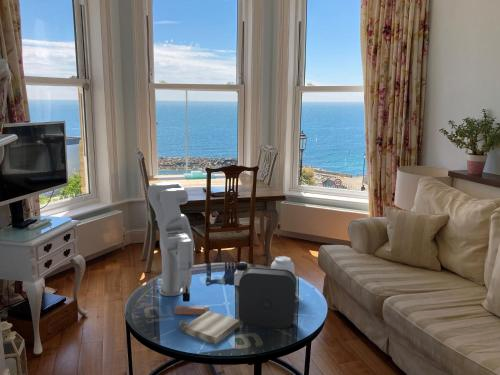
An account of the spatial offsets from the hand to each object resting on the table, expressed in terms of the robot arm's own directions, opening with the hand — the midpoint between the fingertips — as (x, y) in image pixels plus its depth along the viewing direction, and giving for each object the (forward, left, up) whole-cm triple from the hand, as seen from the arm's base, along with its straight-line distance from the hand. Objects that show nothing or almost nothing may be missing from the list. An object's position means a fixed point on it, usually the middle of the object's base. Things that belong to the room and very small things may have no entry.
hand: (186, 300), depth 212 cm
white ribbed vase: (+31, +41, -4) cm, 52 cm away
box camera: (+6, +41, -4) cm, 42 cm away
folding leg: (+6, -3, -4) cm, 8 cm away
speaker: (+40, +8, -4) cm, 41 cm away
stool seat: (+21, -10, -4) cm, 23 cm away
